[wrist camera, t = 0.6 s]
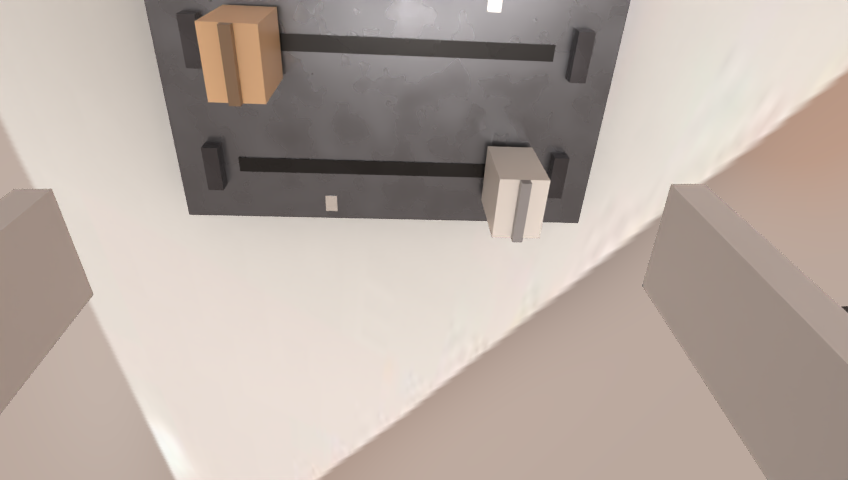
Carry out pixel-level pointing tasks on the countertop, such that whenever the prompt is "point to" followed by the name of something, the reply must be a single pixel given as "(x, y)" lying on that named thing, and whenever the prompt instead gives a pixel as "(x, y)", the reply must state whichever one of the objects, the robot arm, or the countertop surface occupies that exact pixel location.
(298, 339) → the countertop surface
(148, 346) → the countertop surface
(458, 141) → the console
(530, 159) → the fader
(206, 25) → the block
